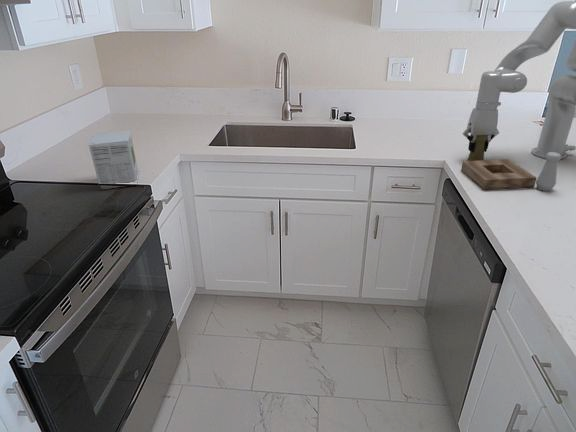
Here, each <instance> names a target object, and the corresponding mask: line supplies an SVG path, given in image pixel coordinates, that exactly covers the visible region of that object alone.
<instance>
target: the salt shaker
mask: <svg viewBox="0 0 576 432" xmlns="http://www.w3.org/2000/svg"><path fill="white" fill-rule="evenodd" d="M545 160H546V161H545V163H544V165H543V166H542V169H541V171H540V173H539V175H538V177H537V179H536V182H535V185H536V187H537V189H538V190H539V189H540V190H539V191H541V190H543V191H542V192H550V191H551V190H553V188H555V186H556V184H557V173H558V163H559V162H560V160H562V159H561V155H560V154H559V153H555V152H549V153H547V155H546V158H545ZM549 190H550V191H549Z"/></svg>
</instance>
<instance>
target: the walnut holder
mask: <svg viewBox="0 0 576 432" xmlns="http://www.w3.org/2000/svg"><path fill="white" fill-rule="evenodd" d="M460 172H461V173H463V174H464V175H465V176H466V177H467V178H468V179H469V180H470V181H472V182H473V183H474V184H475V185H476V186H478V187H479V188H480V189H481V190H482V191H484V192H485V191H486V192H487V191H500V190H499V189H507V190H519V189H518V188H527V189H534V188H535V185H536V181H537V179H538V177H536V176H535V175H534V174H532V173H530V171H528V170H526V169H525V168H523V167H522V166H520V165H518V164H517V163H515V161H513V160H511V159H510V158H504V159H486V160H485V159H484V160H479V161H469V160H463V161H462V164H461V169H460Z"/></svg>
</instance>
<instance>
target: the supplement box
mask: <svg viewBox="0 0 576 432" xmlns="http://www.w3.org/2000/svg"><path fill="white" fill-rule="evenodd" d="M88 147H89V151H90V155H91V159H92V162H93V167H94V171H95V174H96V179H97V182H98V185H99V184H116V183H130V182H135V181H136V180H137V175H138V172H139V168H138V163H137V159H136V154H135V153H136V152H135V149H134V144H133V138H132V134H131V131H130V130H124V131H113V132H102V133H94V134H93V136H92V138H91V140H90V142H89V144H88Z"/></svg>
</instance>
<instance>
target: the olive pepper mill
mask: <svg viewBox="0 0 576 432" xmlns="http://www.w3.org/2000/svg"><path fill="white" fill-rule="evenodd" d="M486 140H487V135H477V137H476V139H475V141H474V143H475V148H474V152H470V151H469V154H468V157H467V161H479V160H485V152H484V147H485V142H486Z"/></svg>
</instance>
